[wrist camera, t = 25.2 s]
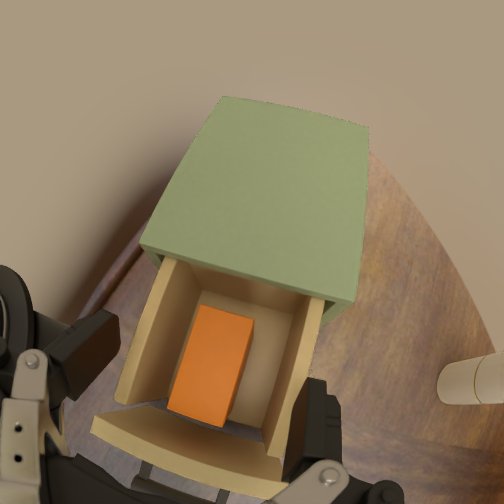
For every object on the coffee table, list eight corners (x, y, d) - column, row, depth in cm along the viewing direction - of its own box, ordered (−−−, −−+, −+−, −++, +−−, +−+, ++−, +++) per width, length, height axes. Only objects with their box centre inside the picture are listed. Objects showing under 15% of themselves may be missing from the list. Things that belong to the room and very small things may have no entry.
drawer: (254, 499, 16) (256, 554, 8) (133, 457, 17) (78, 486, 9) (311, 313, 23) (343, 276, 15) (191, 279, 24) (163, 228, 16)
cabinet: (312, 334, 23) (355, 302, 13) (181, 297, 24) (138, 242, 14) (337, 203, 28) (369, 127, 19) (229, 177, 30) (222, 95, 20)
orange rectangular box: (192, 399, 19) (165, 408, 12) (215, 326, 21) (200, 303, 15) (231, 411, 18) (222, 428, 12) (253, 337, 21) (254, 318, 14)
